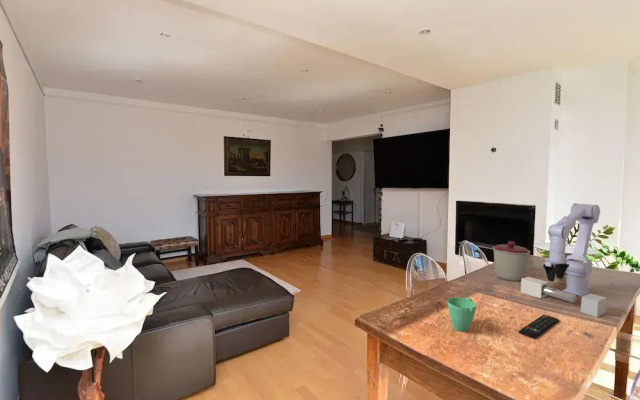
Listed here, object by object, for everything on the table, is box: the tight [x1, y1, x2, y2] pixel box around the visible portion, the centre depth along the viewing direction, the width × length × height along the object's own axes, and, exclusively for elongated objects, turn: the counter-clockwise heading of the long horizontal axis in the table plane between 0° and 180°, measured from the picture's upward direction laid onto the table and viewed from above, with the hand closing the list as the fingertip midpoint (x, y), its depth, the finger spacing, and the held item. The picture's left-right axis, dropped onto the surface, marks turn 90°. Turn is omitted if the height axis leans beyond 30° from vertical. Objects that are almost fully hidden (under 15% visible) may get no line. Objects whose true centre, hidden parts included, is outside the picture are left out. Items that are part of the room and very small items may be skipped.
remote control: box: [517, 314, 560, 340], centre depth 119 cm, size 5×24×1 cm, turn 126°
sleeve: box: [520, 276, 549, 299], centre depth 152 cm, size 6×9×7 cm
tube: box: [519, 282, 578, 304], centre depth 148 cm, size 4×22×4 cm, turn 29°
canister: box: [492, 240, 531, 282], centre depth 175 cm, size 18×18×21 cm
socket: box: [580, 292, 608, 318], centre depth 132 cm, size 8×6×7 cm
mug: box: [447, 297, 477, 333], centre depth 119 cm, size 15×10×10 cm
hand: (555, 279), depth 145 cm, fingers open, 7 cm apart
